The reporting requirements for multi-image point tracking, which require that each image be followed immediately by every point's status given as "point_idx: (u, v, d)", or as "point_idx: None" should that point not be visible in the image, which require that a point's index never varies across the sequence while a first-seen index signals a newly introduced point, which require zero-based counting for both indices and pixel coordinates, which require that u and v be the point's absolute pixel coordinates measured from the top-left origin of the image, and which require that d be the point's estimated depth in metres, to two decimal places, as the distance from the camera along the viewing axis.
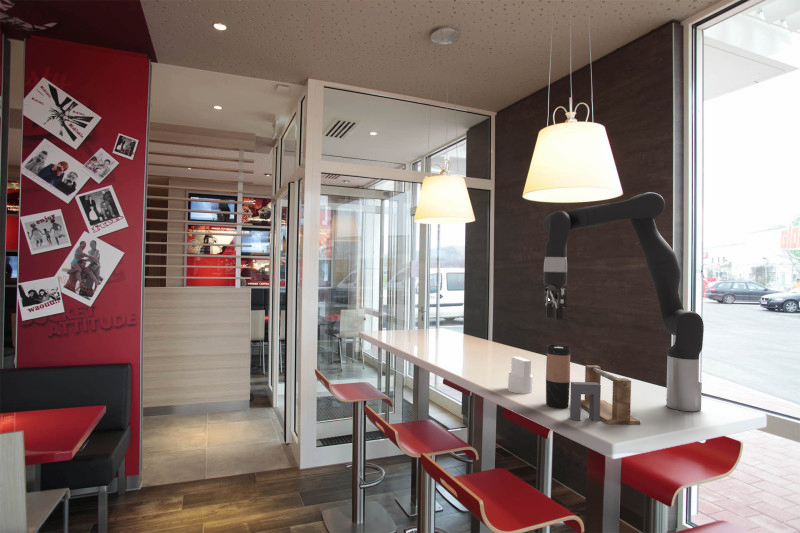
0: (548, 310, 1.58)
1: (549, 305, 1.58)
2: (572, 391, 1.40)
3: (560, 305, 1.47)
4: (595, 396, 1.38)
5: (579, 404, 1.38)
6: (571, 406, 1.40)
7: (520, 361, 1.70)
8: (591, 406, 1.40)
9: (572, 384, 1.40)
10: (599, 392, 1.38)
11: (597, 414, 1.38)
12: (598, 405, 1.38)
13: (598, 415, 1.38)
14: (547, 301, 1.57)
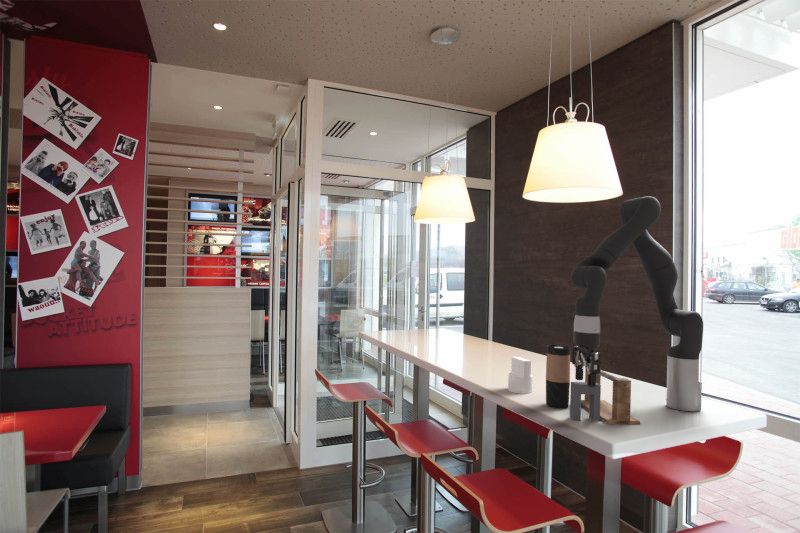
0: (578, 372, 1.44)
1: (579, 366, 1.44)
2: (572, 391, 1.40)
3: (593, 371, 1.33)
4: (595, 396, 1.38)
5: (579, 404, 1.38)
6: (571, 406, 1.40)
7: (520, 361, 1.70)
8: (591, 406, 1.40)
9: (572, 384, 1.40)
10: (599, 392, 1.38)
11: (597, 414, 1.38)
12: (598, 405, 1.38)
13: (598, 415, 1.38)
14: (577, 362, 1.43)
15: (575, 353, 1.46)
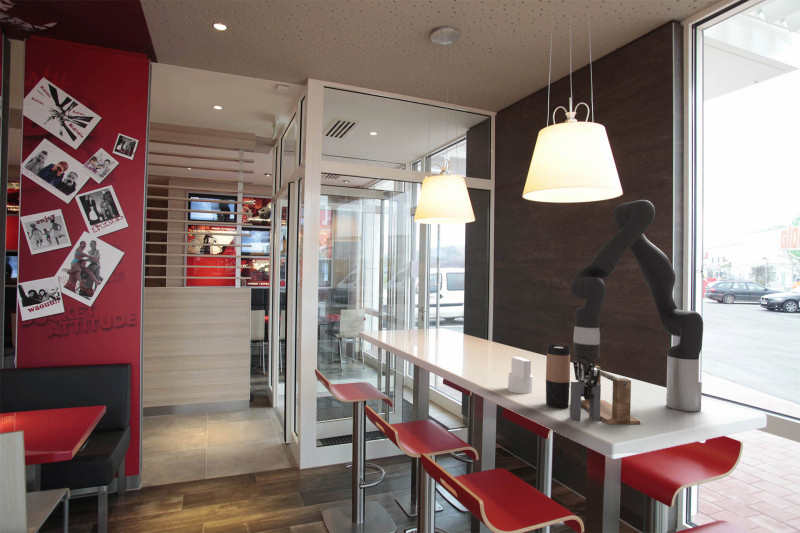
0: None
1: None
2: (572, 391, 1.40)
3: (590, 385, 1.35)
4: (595, 396, 1.38)
5: (579, 404, 1.38)
6: (571, 406, 1.40)
7: (520, 361, 1.70)
8: (591, 406, 1.40)
9: (572, 384, 1.40)
10: (599, 392, 1.38)
11: (597, 414, 1.38)
12: (598, 405, 1.38)
13: (598, 415, 1.38)
14: (579, 376, 1.41)
15: (576, 368, 1.45)
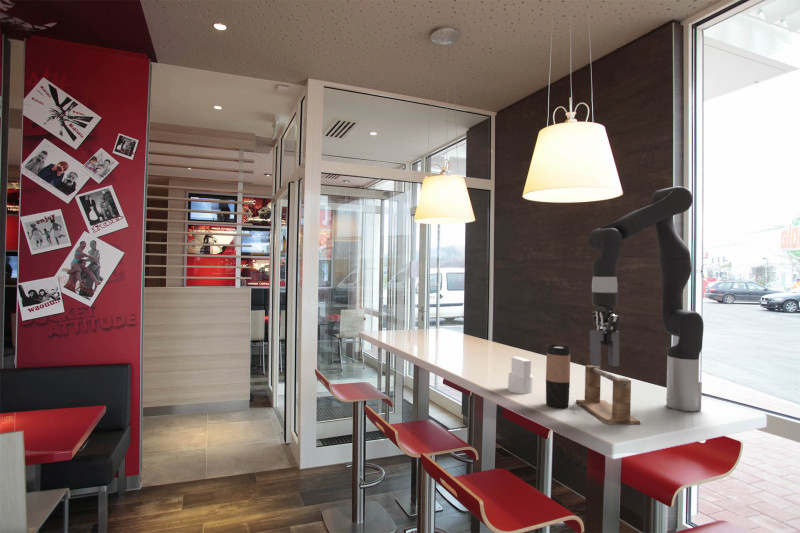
0: None
1: None
2: (592, 339, 1.46)
3: (609, 331, 1.41)
4: (614, 342, 1.44)
5: (599, 350, 1.44)
6: (591, 353, 1.46)
7: (520, 361, 1.70)
8: (610, 352, 1.46)
9: (591, 332, 1.46)
10: (618, 338, 1.44)
11: (616, 359, 1.44)
12: (617, 351, 1.44)
13: (617, 360, 1.44)
14: (598, 324, 1.47)
15: (595, 317, 1.50)
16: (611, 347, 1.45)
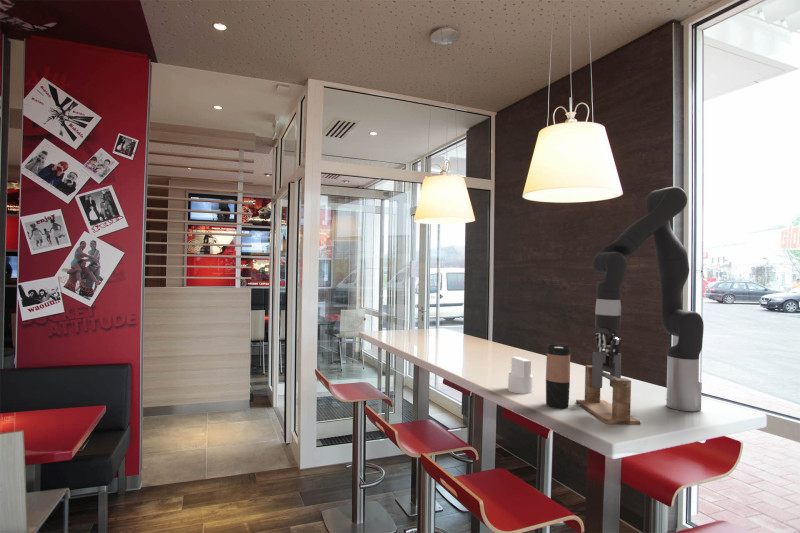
0: None
1: None
2: (594, 360, 1.47)
3: (611, 353, 1.43)
4: (616, 364, 1.46)
5: (601, 372, 1.46)
6: (593, 375, 1.48)
7: (520, 361, 1.70)
8: (612, 375, 1.47)
9: (594, 354, 1.47)
10: (620, 361, 1.46)
11: None
12: (619, 373, 1.46)
13: None
14: (601, 346, 1.49)
15: (597, 339, 1.52)
16: (613, 369, 1.47)
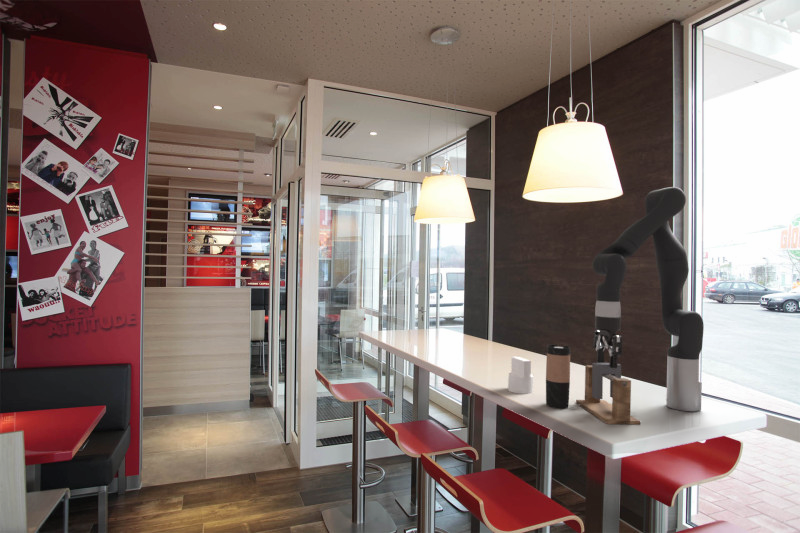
0: (599, 355, 1.51)
1: (600, 350, 1.51)
2: (594, 371, 1.47)
3: (615, 353, 1.40)
4: (616, 375, 1.46)
5: (601, 383, 1.46)
6: (593, 386, 1.47)
7: (520, 361, 1.70)
8: (612, 385, 1.47)
9: (594, 365, 1.47)
10: (620, 372, 1.46)
11: None
12: None
13: None
14: (598, 346, 1.50)
15: (596, 337, 1.53)
16: None
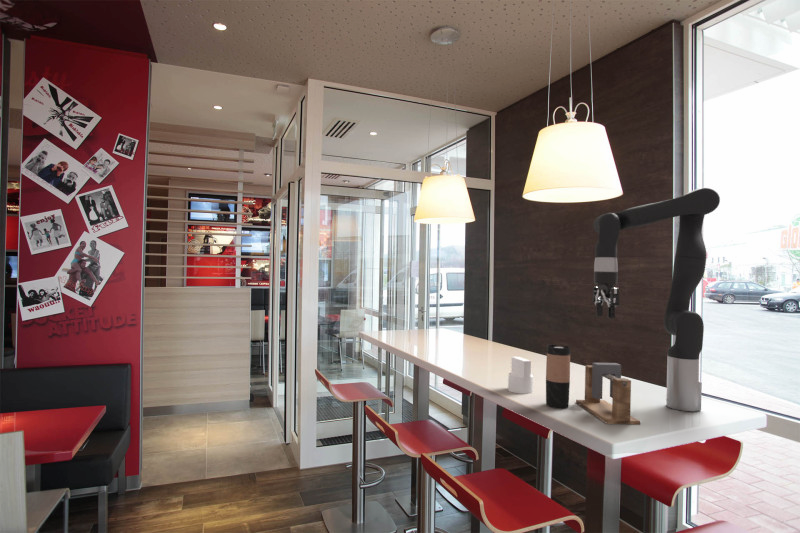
0: (598, 308, 1.63)
1: (599, 304, 1.63)
2: (594, 371, 1.47)
3: (613, 304, 1.52)
4: (616, 375, 1.46)
5: (601, 383, 1.46)
6: (593, 385, 1.47)
7: (520, 361, 1.70)
8: (612, 385, 1.47)
9: (594, 364, 1.47)
10: (620, 372, 1.46)
11: None
12: None
13: None
14: (597, 300, 1.62)
15: (595, 293, 1.65)
16: None
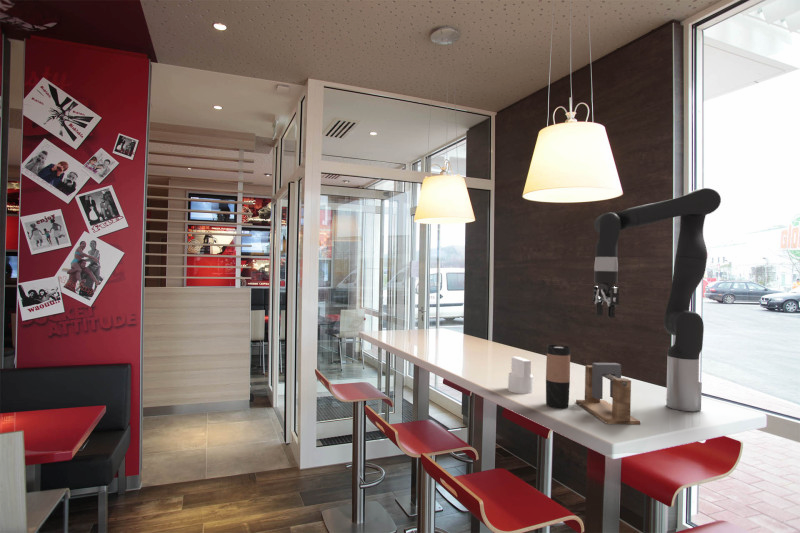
0: (598, 308, 1.63)
1: (599, 303, 1.64)
2: (594, 371, 1.47)
3: (613, 303, 1.53)
4: (616, 375, 1.46)
5: (601, 383, 1.46)
6: (593, 386, 1.47)
7: (520, 361, 1.70)
8: (612, 385, 1.47)
9: (594, 365, 1.47)
10: (620, 372, 1.46)
11: None
12: None
13: None
14: (597, 299, 1.63)
15: (595, 292, 1.65)
16: None
